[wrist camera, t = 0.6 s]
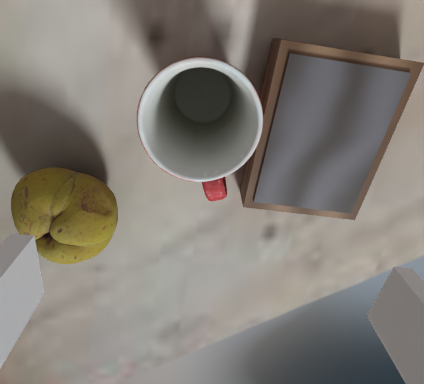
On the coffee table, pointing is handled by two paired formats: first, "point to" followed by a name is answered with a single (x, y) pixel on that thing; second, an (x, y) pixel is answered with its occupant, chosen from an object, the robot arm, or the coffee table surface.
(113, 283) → the coffee table surface
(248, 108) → the mug
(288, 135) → the stand
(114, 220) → the fruit
